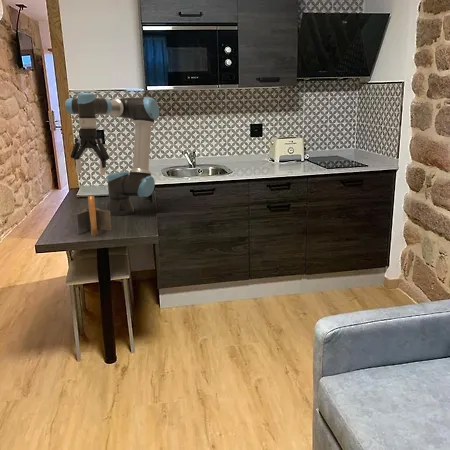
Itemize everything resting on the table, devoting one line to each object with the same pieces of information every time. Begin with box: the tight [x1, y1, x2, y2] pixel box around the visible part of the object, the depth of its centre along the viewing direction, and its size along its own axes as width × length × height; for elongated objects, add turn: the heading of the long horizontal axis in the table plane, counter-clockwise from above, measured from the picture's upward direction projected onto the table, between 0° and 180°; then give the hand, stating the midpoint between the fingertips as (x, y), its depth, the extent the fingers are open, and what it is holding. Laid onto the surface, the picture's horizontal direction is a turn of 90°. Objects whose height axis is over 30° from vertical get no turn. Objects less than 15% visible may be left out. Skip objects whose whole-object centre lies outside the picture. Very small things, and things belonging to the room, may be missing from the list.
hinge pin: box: [87, 195, 99, 237], centre depth 225 cm, size 3×3×19 cm
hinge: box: [75, 207, 112, 235], centre depth 232 cm, size 14×14×10 cm
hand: (90, 174), depth 220 cm, fingers open, 13 cm apart
